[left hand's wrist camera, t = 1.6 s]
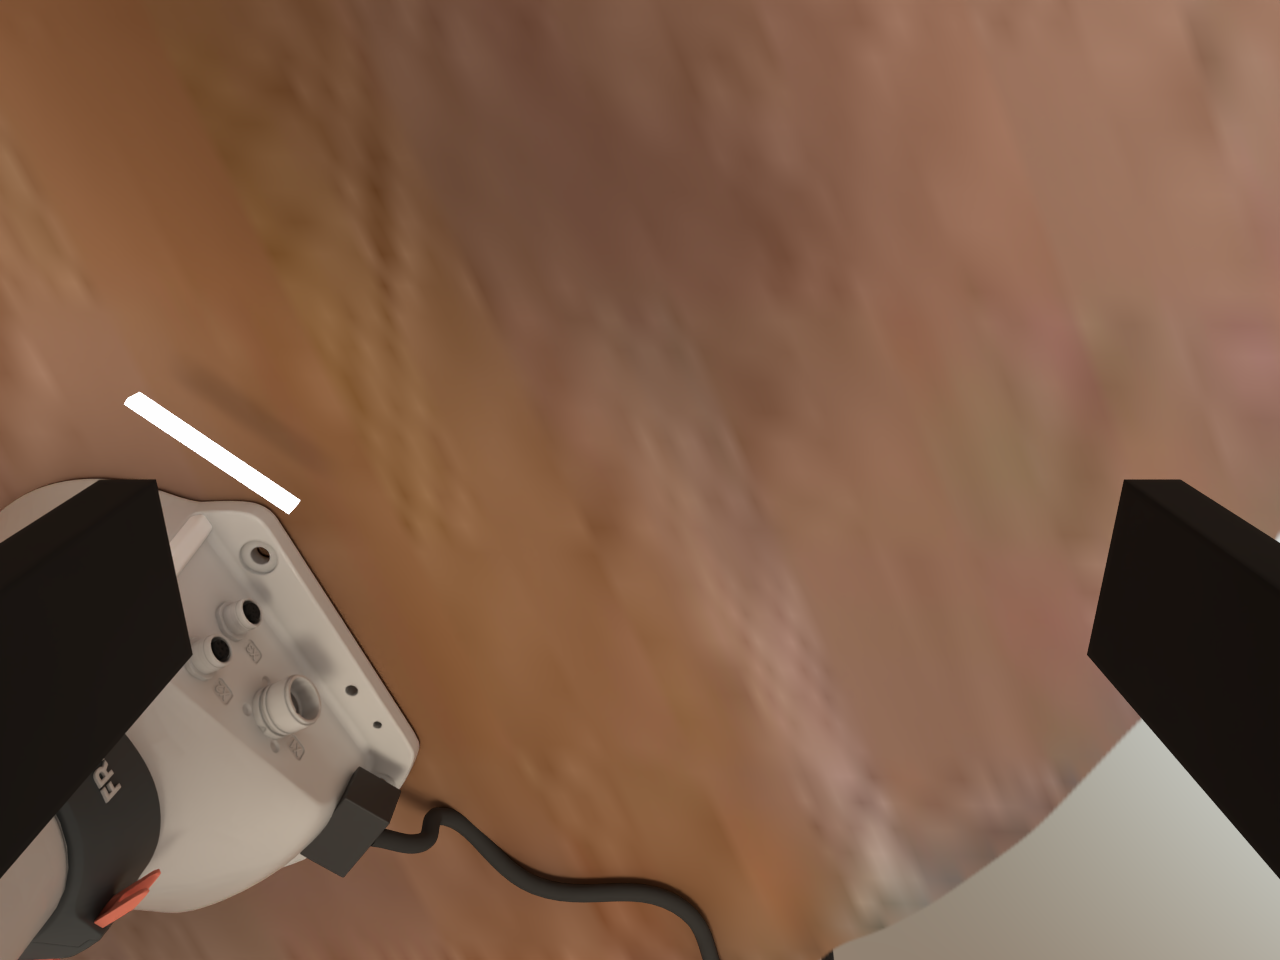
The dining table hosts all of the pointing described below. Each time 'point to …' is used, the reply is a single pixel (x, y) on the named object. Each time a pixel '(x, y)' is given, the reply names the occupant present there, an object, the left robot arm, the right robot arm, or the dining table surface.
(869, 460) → the dining table surface
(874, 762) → the dining table surface
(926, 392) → the dining table surface
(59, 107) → the dining table surface
